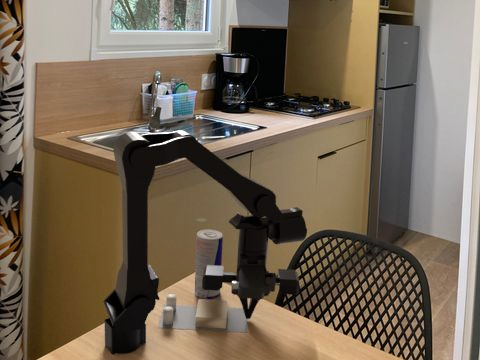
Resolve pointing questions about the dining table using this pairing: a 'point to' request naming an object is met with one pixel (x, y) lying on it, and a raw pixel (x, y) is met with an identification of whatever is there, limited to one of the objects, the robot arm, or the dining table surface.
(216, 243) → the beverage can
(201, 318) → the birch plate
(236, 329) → the board
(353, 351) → the dining table surface
